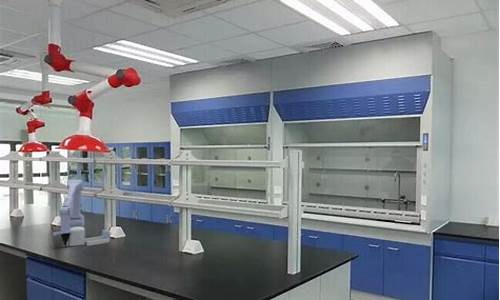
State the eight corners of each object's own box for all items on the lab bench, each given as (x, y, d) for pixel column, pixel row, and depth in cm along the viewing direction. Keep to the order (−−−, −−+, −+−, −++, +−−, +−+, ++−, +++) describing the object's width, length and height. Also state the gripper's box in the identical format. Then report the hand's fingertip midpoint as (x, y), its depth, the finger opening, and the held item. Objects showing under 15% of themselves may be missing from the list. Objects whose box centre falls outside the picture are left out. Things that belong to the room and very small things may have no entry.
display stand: (81, 242, 268) (81, 232, 268) (103, 239, 279) (103, 229, 279) (87, 245, 259) (87, 235, 259) (110, 242, 270) (110, 232, 270)
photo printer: (84, 243, 265) (84, 225, 265) (85, 244, 261) (85, 226, 261) (67, 245, 259) (68, 227, 259) (68, 246, 256) (69, 228, 256)
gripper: (55, 226, 248) (55, 247, 247) (78, 224, 257) (78, 244, 257) (52, 225, 253) (52, 245, 253) (75, 222, 263) (74, 242, 262)
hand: (65, 244), depth 255 cm, fingers closed
